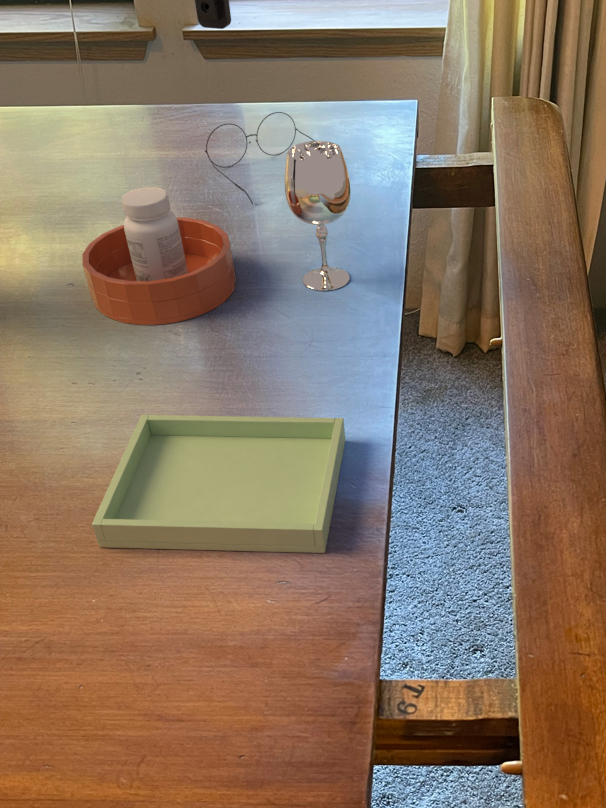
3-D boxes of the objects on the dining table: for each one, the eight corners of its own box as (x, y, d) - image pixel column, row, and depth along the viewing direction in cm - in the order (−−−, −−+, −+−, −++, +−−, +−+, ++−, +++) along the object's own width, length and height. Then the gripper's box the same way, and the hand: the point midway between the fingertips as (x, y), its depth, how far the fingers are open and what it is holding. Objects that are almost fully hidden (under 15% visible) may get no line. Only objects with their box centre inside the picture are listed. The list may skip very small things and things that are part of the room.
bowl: (74, 324, 85) (62, 283, 82) (116, 255, 94) (106, 216, 92) (219, 325, 84) (212, 284, 81) (247, 256, 93) (241, 217, 91)
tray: (99, 547, 63) (91, 524, 62) (147, 436, 72) (141, 414, 71) (325, 553, 62) (322, 529, 61) (345, 440, 71) (343, 417, 70)
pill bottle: (189, 269, 91) (172, 182, 85) (190, 293, 87) (172, 204, 81) (138, 274, 90) (118, 187, 84) (137, 298, 87) (115, 209, 81)
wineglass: (358, 292, 88) (349, 162, 79) (295, 296, 87) (280, 166, 79) (355, 262, 92) (346, 136, 84) (295, 266, 92) (281, 140, 83)
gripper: (202, -294, 63) (235, -18, 74) (88, -282, 53) (146, 34, 64) (307, -295, 61) (325, -12, 72) (209, -282, 51) (247, 43, 63)
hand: (241, 10), depth 68 cm, fingers open, 8 cm apart
